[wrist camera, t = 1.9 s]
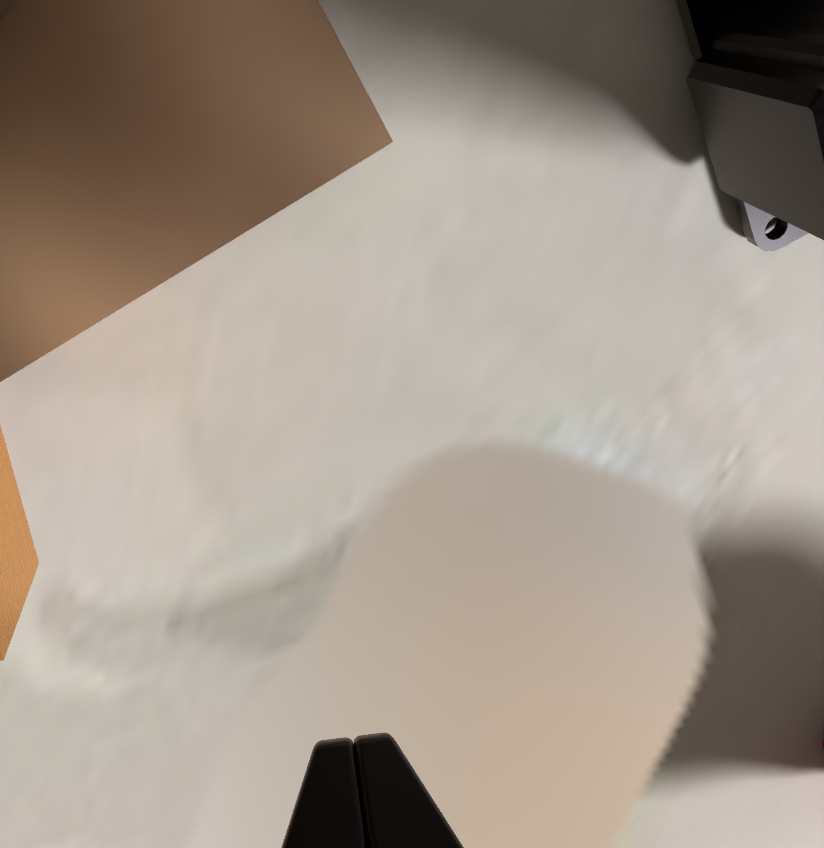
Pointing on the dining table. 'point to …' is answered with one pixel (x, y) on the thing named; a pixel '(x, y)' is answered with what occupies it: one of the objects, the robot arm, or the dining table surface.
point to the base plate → (155, 145)
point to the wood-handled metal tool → (12, 529)
